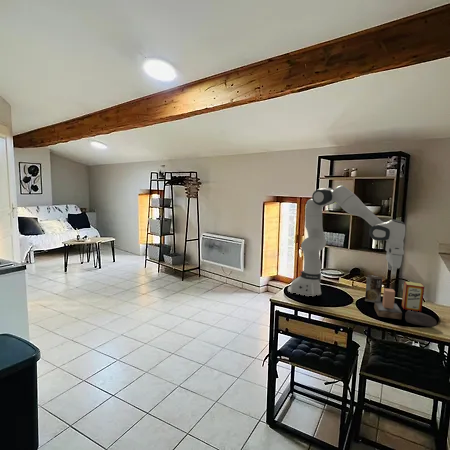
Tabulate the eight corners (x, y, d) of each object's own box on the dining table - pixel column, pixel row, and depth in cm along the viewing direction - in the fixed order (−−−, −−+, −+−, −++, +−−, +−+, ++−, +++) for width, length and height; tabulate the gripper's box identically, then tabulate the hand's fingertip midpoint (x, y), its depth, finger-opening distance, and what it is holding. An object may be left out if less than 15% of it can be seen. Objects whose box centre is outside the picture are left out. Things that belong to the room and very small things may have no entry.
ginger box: (418, 308, 200) (421, 283, 198) (421, 311, 194) (424, 286, 192) (401, 305, 203) (404, 280, 201) (403, 309, 197) (406, 284, 195)
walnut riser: (378, 316, 185) (378, 309, 185) (374, 307, 199) (374, 301, 198) (401, 319, 182) (402, 312, 182) (395, 310, 196) (396, 303, 195)
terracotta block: (383, 307, 188) (385, 291, 187) (382, 304, 193) (383, 288, 192) (393, 308, 187) (395, 292, 186) (391, 305, 192) (393, 289, 190)
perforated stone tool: (435, 326, 175) (437, 314, 174) (436, 330, 170) (438, 317, 169) (404, 319, 182) (405, 308, 181) (404, 323, 177) (405, 311, 176)
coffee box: (380, 300, 211) (383, 276, 208) (380, 303, 205) (382, 279, 203) (365, 297, 215) (367, 274, 213) (364, 300, 209) (366, 276, 207)
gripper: (384, 244, 196) (382, 266, 198) (392, 251, 176) (389, 276, 178) (396, 245, 194) (393, 267, 196) (405, 252, 175) (401, 277, 177)
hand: (391, 271), depth 187 cm, fingers open, 8 cm apart
